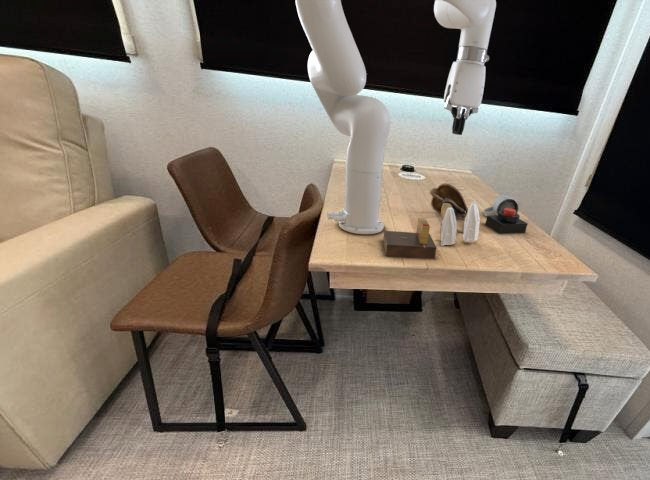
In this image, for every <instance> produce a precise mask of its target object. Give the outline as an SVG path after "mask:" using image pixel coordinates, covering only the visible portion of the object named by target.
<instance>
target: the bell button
mask: <svg viewBox="0 0 650 480" xmlns="http://www.w3.org/2000/svg"><path fill="white" fill-rule="evenodd" d="M515 213H516V210H514V209H511V208H505V209H504V212H503V214H505V215H508V216H515Z"/></svg>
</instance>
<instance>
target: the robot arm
mask: <svg viewBox="0 0 650 480" xmlns="http://www.w3.org/2000/svg"><path fill="white" fill-rule="evenodd" d="M295 6H296V11H297V15H298V18H299V21H300V24H301V26H302V29H303V31H304V33H305V36H306V37H307V40H308V43H309V45H310V47H311V49H312V50H311V52H310V54H309V56H308V60H307V73H308V74H307V75H308V77H309V81H310V84H311V86H312V88H313V90H314V92H315V94H316V96H317V97H318V99H319V101H320V103H321V105H322V107H323V109H324V110H325V113H326V114H327V116H328V118H329V120H330V122H331V124H332V125H333V126H334V128H335V129H336V130H337V131H338V132H339V133H341V134H343V135H344V136H347V137H349V138H350V139H349V142H348V146H347V149H346V154H345V187H344V207H342V208H341V210H339V211H337V212H335V211H327V214H326V215H327V220H333V222H338V226H339V228H340V229H342V230H343V231H345V232H347V233H350V234H356V235H375V234H379V233H381V232H382V231H384V227H385V224H384V223H383V221H381V219H380V210H381V209H380V208H381V197H382V196H381V195H382V183H383V172H384V171H383V170H384V158H385V151H386V144H387V141H388V138H389V134H390V128H391V117H390V112H389V110H388V108H387V106H386V105H385V104H384V103H383V102H382V101H381V100H380V99H377V98H375V97H373V96H368V95H361V94H359V93H361V92H362V91H363V89H364V88H365V86H366V83H367V70H366V66H365V64H364V63H365V62H364V61H363V58H362V56H361V54H360V51H359V49H358V46H357V44H356V41H355V39H354V37H353V33H352V31H351V29H350V26H349V24H348V21H347V18H346V16H345V15H346V14H345V13H344V9H343V5H342V0H295ZM496 8H497V1H496V0H434V4H433V13H434V18H435V19H436V21H437V23H438V24H439V25H440V26H442V27H443V28H446V29H456V30H457V29H458V30H460V37H459V42H458V49H457V55H456V61H453V62H452V64H451V67H450V69H449V73H448V77H447V80H446V85H445V89H444V94H443V102H444V106H443V109H445V110H447V111H449V112H450V113H451V116H452V118H453V121H452V127H451V131H452V132H451V133H452V135H457V136H462V135H463V132H464V129H465V126H466V125H465V124H466V120H468V118H469V117H470V116H471V115H473V114H478V113H479V109H480V107H481V104H482V101H483V95H484V90H485V89H484V88H485V83H486V66H485V64H486V63H487V62H489V60H490V56H489V55H488V47H489V43H490V38H491V33H492V28H493V23H494V19H495V12H496Z"/></svg>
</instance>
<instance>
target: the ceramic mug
mask: <svg viewBox="0 0 650 480" xmlns="http://www.w3.org/2000/svg"><path fill="white" fill-rule="evenodd" d="M505 208H511V209H514V210H516V213H517V214H519V211H520V205H519V202H518V201H517V200H516V199H514V198H513V197H512V196H510V195H507V194H502V195H499V196H498V197H496V198H495V199H494V201H493V204H492V206H489V207H487V208H485V209H484V210H483V215H484V216H485V217H487V216H488V215H498V212H499V211H504V209H505Z"/></svg>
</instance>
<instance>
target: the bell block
mask: <svg viewBox="0 0 650 480" xmlns="http://www.w3.org/2000/svg"><path fill="white" fill-rule="evenodd" d="M503 212H504V211H499V212H498V215H488V216H486V219H485V224H484V226H486V227H487V228H489V229H491V230H493V231H494V232H496V233H497V234H499V235H506V234H507V235H508V234H526V231H527V228H528V225H529V223H528V222H526V221H524V220H522V219H520V217H521V216H520V214H519V213H515V216H508V215H505V214H503Z"/></svg>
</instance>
